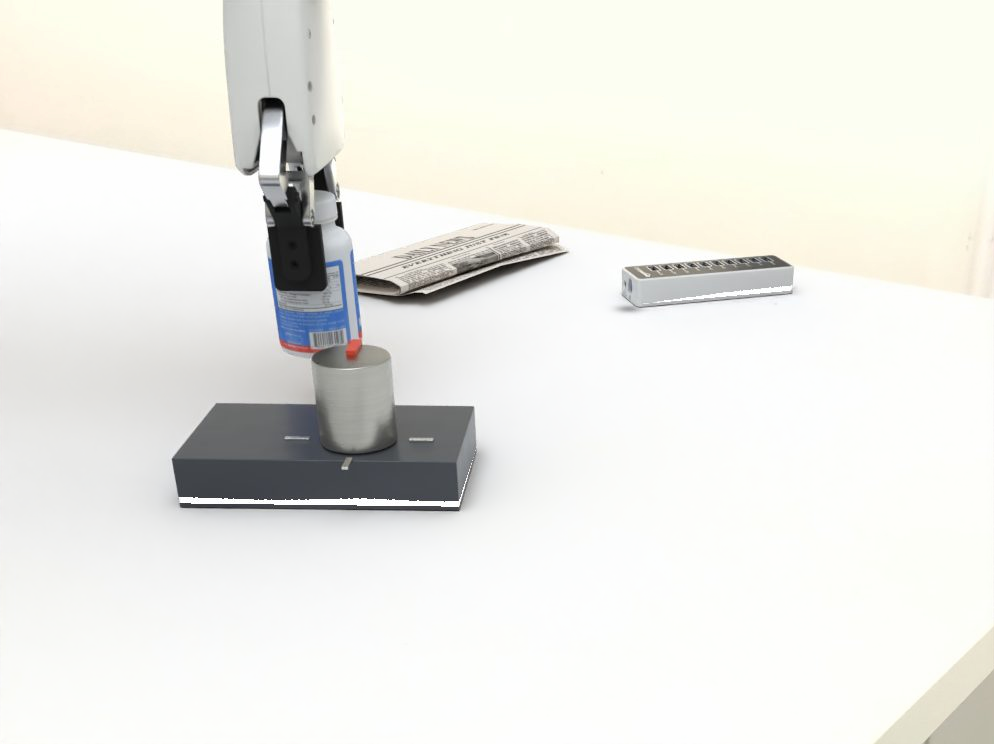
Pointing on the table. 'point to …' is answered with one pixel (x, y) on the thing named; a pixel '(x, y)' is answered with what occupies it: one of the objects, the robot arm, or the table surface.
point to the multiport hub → (704, 279)
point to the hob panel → (323, 458)
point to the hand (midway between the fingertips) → (312, 273)
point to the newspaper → (453, 258)
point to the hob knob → (354, 398)
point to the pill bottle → (321, 293)
